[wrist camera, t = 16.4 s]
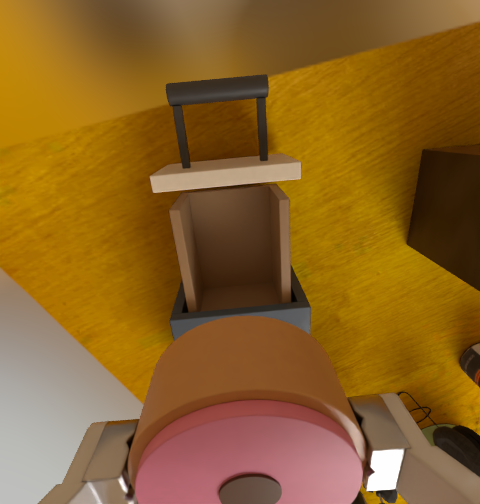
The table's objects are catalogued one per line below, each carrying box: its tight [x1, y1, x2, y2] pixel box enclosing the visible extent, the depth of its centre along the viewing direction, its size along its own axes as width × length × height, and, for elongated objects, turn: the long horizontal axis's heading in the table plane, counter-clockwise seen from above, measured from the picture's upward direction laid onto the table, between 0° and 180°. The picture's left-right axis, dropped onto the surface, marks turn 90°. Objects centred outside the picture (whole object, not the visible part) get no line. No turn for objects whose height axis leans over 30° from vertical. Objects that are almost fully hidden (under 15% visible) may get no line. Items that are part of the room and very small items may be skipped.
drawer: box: [150, 75, 301, 313], centre depth 24 cm, size 19×11×7 cm, turn 5°
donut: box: [127, 316, 367, 504], centre depth 9 cm, size 6×6×3 cm
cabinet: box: [170, 264, 311, 341], centre depth 30 cm, size 15×12×9 cm
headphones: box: [363, 392, 480, 504], centre depth 33 cm, size 15×11×20 cm
